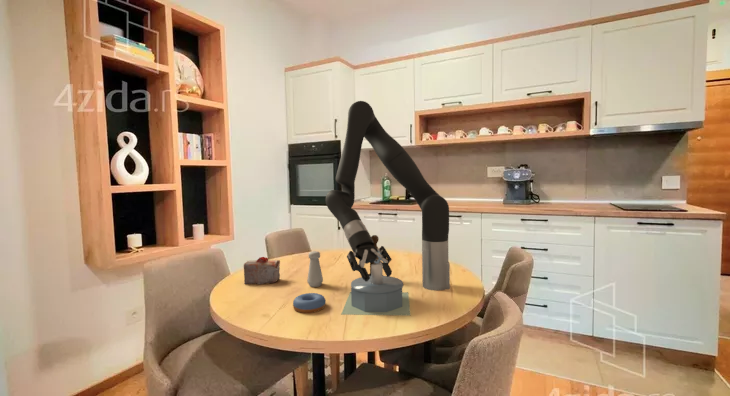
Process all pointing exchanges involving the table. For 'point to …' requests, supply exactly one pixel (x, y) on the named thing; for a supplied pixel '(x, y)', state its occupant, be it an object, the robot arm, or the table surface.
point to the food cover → (377, 292)
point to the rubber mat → (402, 311)
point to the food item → (261, 271)
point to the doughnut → (309, 303)
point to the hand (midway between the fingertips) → (379, 277)
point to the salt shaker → (314, 270)
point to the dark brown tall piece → (375, 240)
